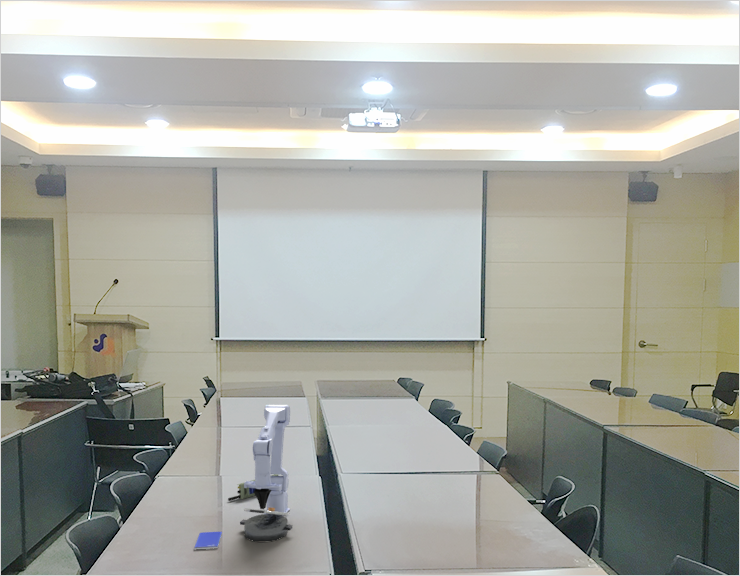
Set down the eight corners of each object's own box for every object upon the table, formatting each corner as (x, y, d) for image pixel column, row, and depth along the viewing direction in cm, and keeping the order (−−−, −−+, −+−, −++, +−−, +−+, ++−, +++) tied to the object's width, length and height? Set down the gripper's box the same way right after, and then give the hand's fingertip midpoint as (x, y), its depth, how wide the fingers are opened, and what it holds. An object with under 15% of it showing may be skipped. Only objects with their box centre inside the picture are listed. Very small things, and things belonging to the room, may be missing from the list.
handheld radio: (279, 489, 275) (230, 503, 258) (275, 488, 278) (226, 501, 261) (279, 474, 275) (230, 488, 259) (275, 473, 278) (226, 486, 261)
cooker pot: (253, 519, 241) (252, 509, 241) (300, 525, 235) (300, 515, 235) (231, 538, 224) (231, 527, 224) (282, 545, 218) (282, 534, 218)
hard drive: (217, 545, 216) (221, 531, 228) (194, 547, 215) (199, 532, 227) (217, 550, 216) (222, 535, 228) (194, 551, 215) (199, 536, 227)
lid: (255, 511, 239) (256, 505, 240) (295, 515, 235) (296, 510, 235) (234, 510, 223) (235, 504, 224) (277, 515, 218) (278, 509, 219)
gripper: (240, 473, 224) (240, 510, 224) (276, 477, 220) (276, 514, 220) (248, 467, 231) (249, 503, 231) (284, 471, 227) (284, 507, 227)
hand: (263, 508), depth 226 cm, fingers closed
